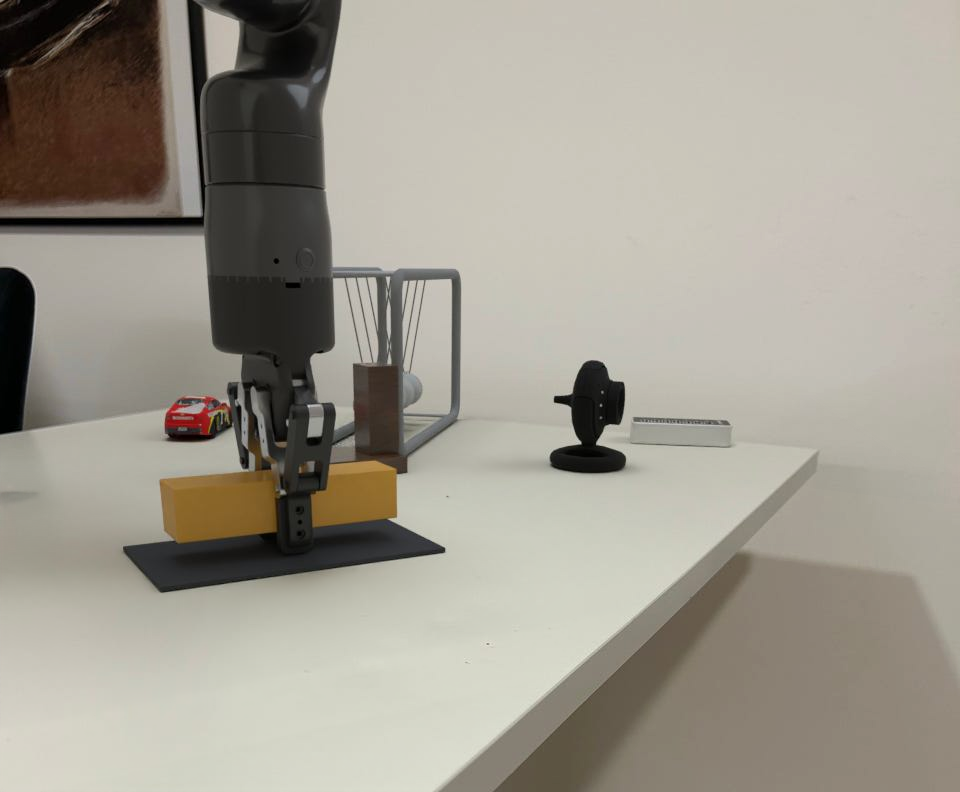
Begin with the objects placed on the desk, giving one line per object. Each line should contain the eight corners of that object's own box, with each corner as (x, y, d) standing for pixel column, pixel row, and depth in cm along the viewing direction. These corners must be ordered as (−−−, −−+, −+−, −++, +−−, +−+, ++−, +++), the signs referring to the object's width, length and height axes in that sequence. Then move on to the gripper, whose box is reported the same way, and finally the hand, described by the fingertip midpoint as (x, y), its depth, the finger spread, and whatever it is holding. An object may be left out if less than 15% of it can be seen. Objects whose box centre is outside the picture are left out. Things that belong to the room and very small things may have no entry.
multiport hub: (629, 436, 114) (631, 416, 113) (726, 440, 112) (728, 420, 112) (630, 443, 109) (631, 422, 109) (730, 447, 108) (733, 425, 107)
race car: (194, 423, 117) (191, 389, 116) (239, 424, 117) (237, 390, 116) (156, 440, 105) (153, 402, 104) (207, 442, 105) (204, 403, 104)
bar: (178, 544, 60) (172, 489, 59) (164, 531, 63) (158, 478, 62) (397, 517, 68) (397, 468, 66) (376, 507, 70) (375, 460, 69)
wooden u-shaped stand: (274, 485, 85) (267, 372, 82) (248, 470, 91) (241, 364, 88) (407, 472, 92) (407, 367, 88) (375, 459, 97) (374, 360, 94)
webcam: (617, 475, 92) (624, 365, 88) (540, 469, 94) (544, 361, 91) (632, 461, 99) (640, 358, 95) (560, 455, 101) (565, 355, 98)
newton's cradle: (380, 415, 126) (378, 267, 120) (460, 418, 125) (462, 268, 118) (301, 455, 99) (292, 266, 92) (402, 461, 97) (400, 268, 91)
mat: (160, 592, 57) (160, 587, 57) (123, 550, 65) (122, 546, 65) (445, 551, 67) (445, 547, 66) (382, 519, 75) (382, 516, 74)
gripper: (177, 268, 64) (199, 528, 70) (247, 271, 52) (266, 581, 58) (288, 270, 67) (300, 516, 73) (376, 273, 56) (381, 564, 62)
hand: (285, 543), depth 66 cm, fingers closed on bar, 3 cm apart
